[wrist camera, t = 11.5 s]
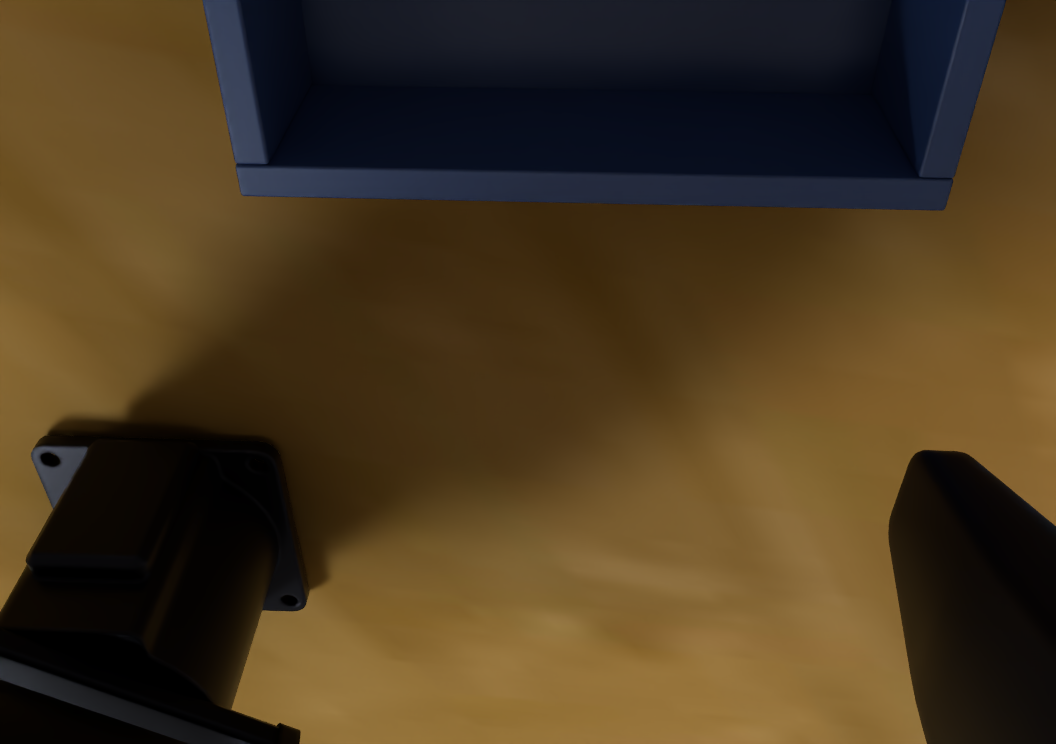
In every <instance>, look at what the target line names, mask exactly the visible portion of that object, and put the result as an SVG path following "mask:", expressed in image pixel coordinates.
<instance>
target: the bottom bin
mask: <svg viewBox="0 0 1056 744" xmlns="http://www.w3.org/2000/svg"><path fill="white" fill-rule="evenodd" d="M1005 3H1006V0H203V5H204V10H205V15H206V20H207V25H208V30H209V35H210V40H211V45H212V50H213V55H214V60H215V65H216V70H217V75H218V80H219V85H220V90H221V95H222V100H223V105H224V110H225V115H226V120H227V124H228V129H229V134H230V139H231V144H232V149H233V154H234V159H235V162H236V163H237V164H236V171H237V176H238V181H239V186H240V191H241V194H242V195H243V196H271V197H319V198H367V199H415V200H463V201H511V202H559V203H607V204H655V205H703V206H751V207H799V208H847V209H895V210H944V209H945V207H946V204H947V200H948V197H949V194H950V190H951V187H952V183H953V179H952V178H953V177H954V176H955V173H956V169H957V166H958V162H959V159H960V156H961V152H962V149H963V145H964V142H965V139H966V135H967V132H968V128H969V125H970V122H971V118H972V115H973V111H974V108H975V105H976V101H977V98H978V94H979V91H980V88H981V84H982V81H983V77H984V74H985V71H986V67H987V64H988V60H989V57H990V54H991V50H992V47H993V43H994V40H995V37H996V33H997V30H998V26H999V23H1000V20H1001V16H1002V13H1003V9H1004V6H1005Z"/></svg>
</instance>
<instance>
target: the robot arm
mask: <svg viewBox="0 0 1056 744" xmlns="http://www.w3.org/2000/svg"><path fill="white" fill-rule="evenodd" d="M51 453H53V454H54V455H53V454H51ZM55 455H56V456H55ZM31 457H32V461H33V463H34V465H35V468H36V470H37V472H38V475H39V477H40V479H41V482H42V484H43V486H44V489H45V491H46V493H47V496H48V498H49V500H50V503H51V505H52V507H53V511H52V512H51V514H50V516H49V518H48V519H47V521H46V523H45V525H44V526H43V528H42V530H41V532H40V533H39V535H38V537H37V539H36V541H35V542H34V544H33V546H32V548H31V549H30V551H29V553H28V555H27V557H26V563H27V566H26V567H25V569H24V571H23V573H22V574H21V576H20V578H19V580H18V582H17V583H16V585H15V587H14V589H13V590H12V592H11V594H10V596H9V597H8V599H7V601H6V603H5V605H4V606H3V608H2V610H1V612H0V744H299V742H300V730H298V729H295V728H292V727H289V726H287V725H284V724H281V723H279V724H278V725H277V726H275V725H272V724H269V723H267V722H264V721H261V720H258V719H255V718H253V717H250V716H247V715H244V714H241V713H239V712H236V711H233V710H231V708H232V705H233V702H234V699H235V696H236V692H237V689H238V686H239V683H240V679H241V676H242V673H243V670H244V667H245V663H246V660H247V657H248V654H249V650H250V647H251V644H252V641H253V638H254V634H255V631H256V628H257V625H258V621H259V618H260V615H261V612H262V610H269V611H298V610H301V609H303V608H304V607H305V605H306V602H307V599H308V595H309V588H308V583H307V579H306V574H305V569H304V565H303V560H302V555H301V550H300V546H299V541H298V536H297V532H296V527H295V522H294V518H293V513H292V508H291V503H290V499H289V494H288V489H287V485H286V480H285V475H284V471H283V466H282V461H281V457H280V454H279V452H278V450H277V449H276V448H275V447H274V446H272V445H270V444H268V443H266V442H260V441H234V440H199V439H163V438H128V437H93V436H58V435H50V436H44V437H42V438H41V439H39V441H38V443H37V444H36V446H35V447H34V449H33V451H32V453H31ZM255 459H261V460H263V461H264V462H259V461H257V460H255ZM888 533H889V546H890V552H891V558H892V564H893V570H894V576H895V582H896V589H897V595H898V601H899V607H900V613H901V619H902V625H903V631H904V638H905V644H906V650H907V656H908V662H909V668H910V674H911V679H912V685H913V690H914V695H915V700H916V704H917V708H918V712H919V716H920V720H921V724H922V728H923V731H924V735H925V738H926V742H927V744H1056V526H1055V525H1053V524H1052V523H1051V522H1050V521H1049V520H1047V519H1046V518H1045V517H1044V516H1043V515H1041V514H1040V513H1039V512H1038V511H1036V510H1035V509H1034V508H1033V507H1032V506H1030V505H1029V504H1028V503H1027V502H1026V501H1024V500H1023V499H1022V498H1021V497H1020V496H1018V495H1017V494H1016V493H1015V492H1014V491H1012V490H1011V489H1010V488H1009V487H1008V486H1006V485H1005V484H1004V483H1003V482H1002V481H1000V480H999V479H998V478H997V477H995V476H994V475H993V474H992V473H991V472H989V471H988V470H987V469H986V468H985V467H983V466H982V465H981V464H980V463H979V462H977V461H976V460H975V459H974V458H972V457H971V456H969V455H968V454H966V453H963V452H958V451H935V450H923V451H920V452H917V453H916V454H915V455H914V456H913V457H912V459H911V460H910V462H909V465H908V467H907V470H906V473H905V476H904V479H903V482H902V484H901V487H900V490H899V493H898V496H897V499H896V501H895V504H894V507H893V510H892V513H891V516H890V521H889V532H888Z"/></svg>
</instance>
